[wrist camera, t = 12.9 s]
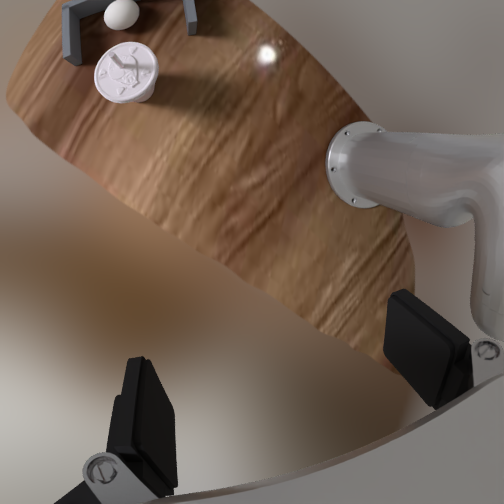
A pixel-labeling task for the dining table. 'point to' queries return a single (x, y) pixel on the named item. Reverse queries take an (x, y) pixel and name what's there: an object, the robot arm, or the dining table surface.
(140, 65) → the smoothie
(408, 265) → the dining table surface
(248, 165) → the dining table surface
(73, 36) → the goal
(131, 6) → the ball
